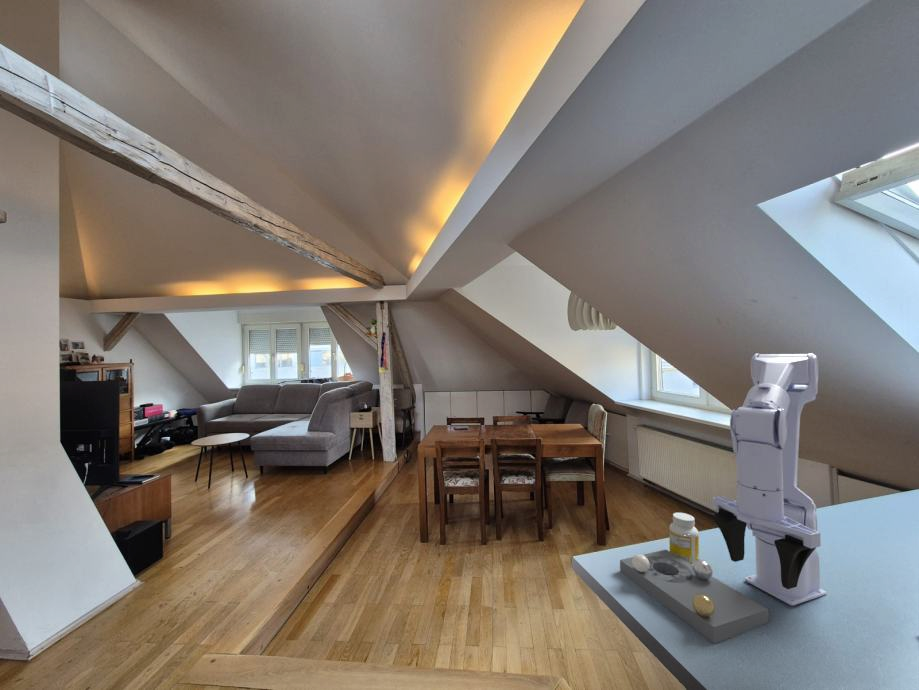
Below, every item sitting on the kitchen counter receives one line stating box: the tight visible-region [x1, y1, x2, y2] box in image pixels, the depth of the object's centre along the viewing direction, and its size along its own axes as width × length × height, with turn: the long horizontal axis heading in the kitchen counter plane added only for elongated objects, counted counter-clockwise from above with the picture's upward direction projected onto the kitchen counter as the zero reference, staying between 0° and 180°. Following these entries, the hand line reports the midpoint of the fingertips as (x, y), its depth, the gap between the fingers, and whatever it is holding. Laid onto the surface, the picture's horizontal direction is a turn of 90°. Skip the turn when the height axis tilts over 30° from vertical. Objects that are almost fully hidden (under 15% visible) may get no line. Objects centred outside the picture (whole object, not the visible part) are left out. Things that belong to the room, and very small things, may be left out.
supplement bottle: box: [668, 512, 700, 564], centre depth 81 cm, size 5×5×10 cm
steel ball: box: [692, 559, 714, 580], centre depth 71 cm, size 3×3×3 cm
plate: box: [619, 549, 770, 644], centre depth 69 cm, size 12×20×2 cm, turn 19°
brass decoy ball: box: [692, 594, 715, 617], centre depth 61 cm, size 3×3×3 cm
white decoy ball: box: [632, 553, 650, 572], centre depth 73 cm, size 3×3×3 cm
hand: (761, 572), depth 59 cm, fingers open, 7 cm apart
